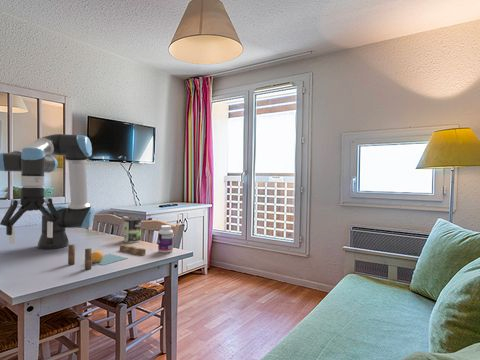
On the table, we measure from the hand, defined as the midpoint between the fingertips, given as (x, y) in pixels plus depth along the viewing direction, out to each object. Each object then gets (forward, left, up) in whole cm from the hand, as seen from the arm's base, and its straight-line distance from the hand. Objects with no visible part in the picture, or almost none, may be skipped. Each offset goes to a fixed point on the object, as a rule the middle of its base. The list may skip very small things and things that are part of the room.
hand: (31, 240), depth 116 cm
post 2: (+6, +20, -16) cm, 26 cm away
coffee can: (-22, +69, -16) cm, 74 cm away
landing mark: (0, +34, -16) cm, 37 cm away
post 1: (-6, +20, -16) cm, 26 cm away
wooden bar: (0, +50, -16) cm, 52 cm away
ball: (0, +28, -13) cm, 31 cm away
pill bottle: (+13, +62, -16) cm, 65 cm away
